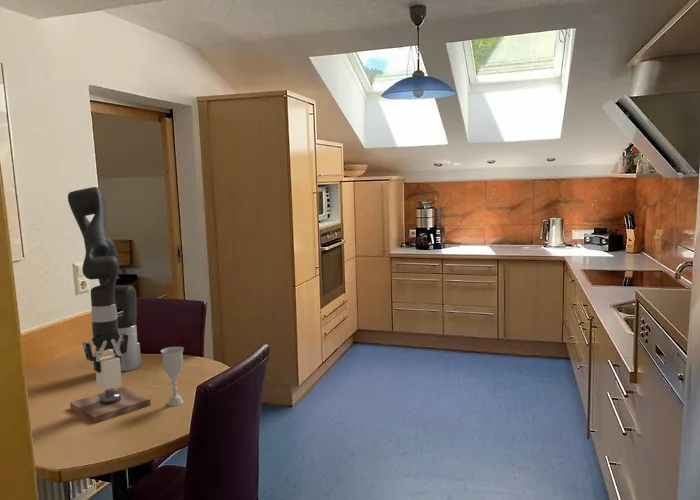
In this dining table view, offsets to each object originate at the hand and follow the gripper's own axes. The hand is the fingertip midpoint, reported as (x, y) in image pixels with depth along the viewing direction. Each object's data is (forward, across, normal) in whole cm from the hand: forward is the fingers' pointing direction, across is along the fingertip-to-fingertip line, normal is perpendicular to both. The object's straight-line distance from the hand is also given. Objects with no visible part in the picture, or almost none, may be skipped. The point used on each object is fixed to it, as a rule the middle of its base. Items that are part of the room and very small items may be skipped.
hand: (108, 369), depth 174 cm
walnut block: (+12, 0, 0) cm, 12 cm away
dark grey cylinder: (+10, 0, 0) cm, 10 cm away
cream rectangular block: (+6, 0, 0) cm, 6 cm away
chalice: (+13, -15, +14) cm, 24 cm away
